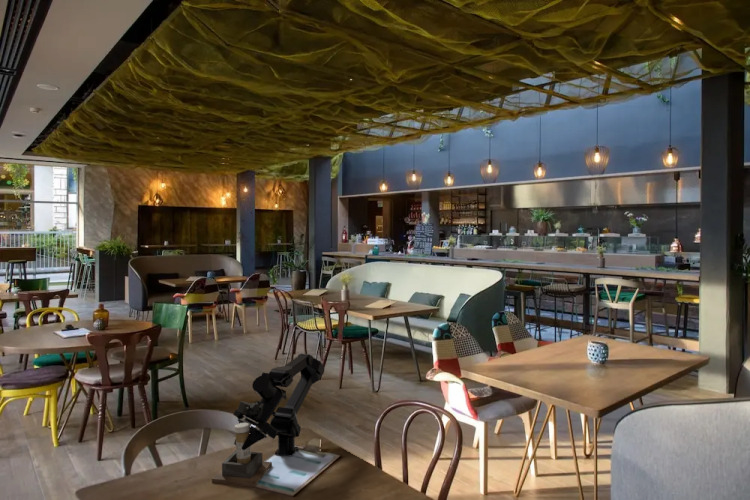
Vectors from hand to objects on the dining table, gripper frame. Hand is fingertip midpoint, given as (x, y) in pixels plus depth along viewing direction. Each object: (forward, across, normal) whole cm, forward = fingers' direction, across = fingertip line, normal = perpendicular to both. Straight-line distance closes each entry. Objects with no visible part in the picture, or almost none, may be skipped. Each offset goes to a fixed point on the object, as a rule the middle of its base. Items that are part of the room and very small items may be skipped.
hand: (238, 447), depth 165 cm
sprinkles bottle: (+4, +1, +6) cm, 7 cm away
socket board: (+6, 0, +7) cm, 9 cm away
